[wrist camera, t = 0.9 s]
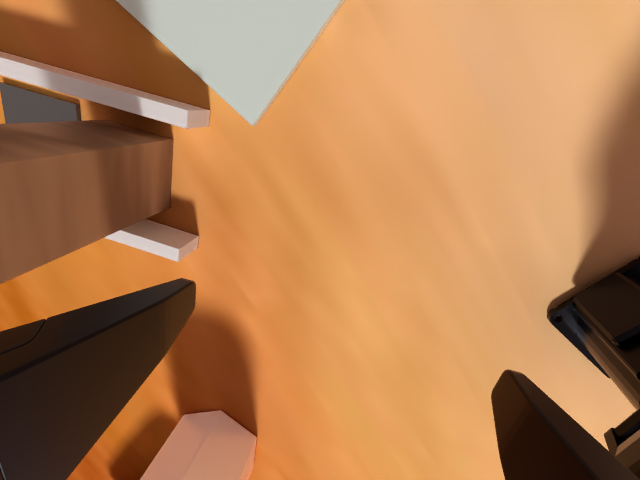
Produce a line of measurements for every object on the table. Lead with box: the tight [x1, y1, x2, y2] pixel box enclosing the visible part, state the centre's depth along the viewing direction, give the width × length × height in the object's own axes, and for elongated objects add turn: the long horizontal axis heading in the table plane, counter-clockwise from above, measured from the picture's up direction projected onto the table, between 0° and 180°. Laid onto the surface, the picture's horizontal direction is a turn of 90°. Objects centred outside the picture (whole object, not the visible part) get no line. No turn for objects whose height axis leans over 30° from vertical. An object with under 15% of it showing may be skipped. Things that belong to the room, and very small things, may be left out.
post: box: [0, 120, 173, 284], centre depth 17 cm, size 5×5×12 cm
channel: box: [0, 51, 210, 262], centre depth 22 cm, size 16×10×2 cm, turn 76°
